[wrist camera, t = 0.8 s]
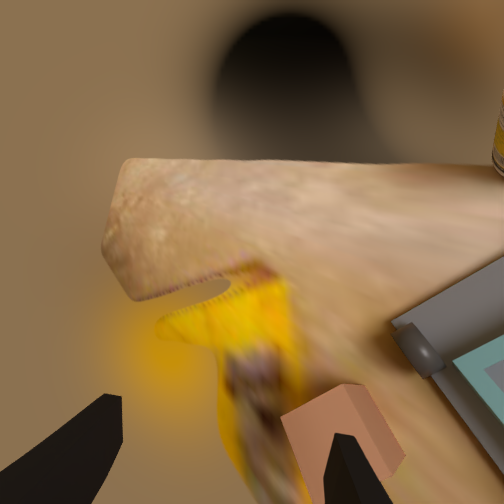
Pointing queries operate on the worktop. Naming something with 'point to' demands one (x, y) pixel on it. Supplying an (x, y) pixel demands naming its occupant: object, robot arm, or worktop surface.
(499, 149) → the supplement bottle
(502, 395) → the chassis
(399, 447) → the block
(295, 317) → the worktop surface
